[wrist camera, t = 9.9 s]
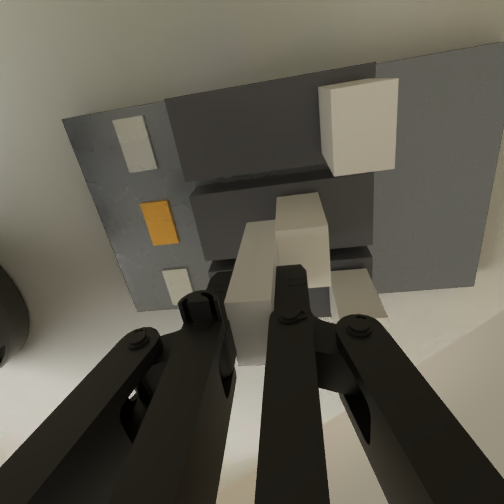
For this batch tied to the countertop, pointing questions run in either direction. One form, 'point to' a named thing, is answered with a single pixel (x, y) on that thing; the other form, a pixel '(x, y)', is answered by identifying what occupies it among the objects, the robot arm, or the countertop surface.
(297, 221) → the handle
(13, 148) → the countertop surface
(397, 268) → the panel
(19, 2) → the countertop surface
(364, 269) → the breaker housings
